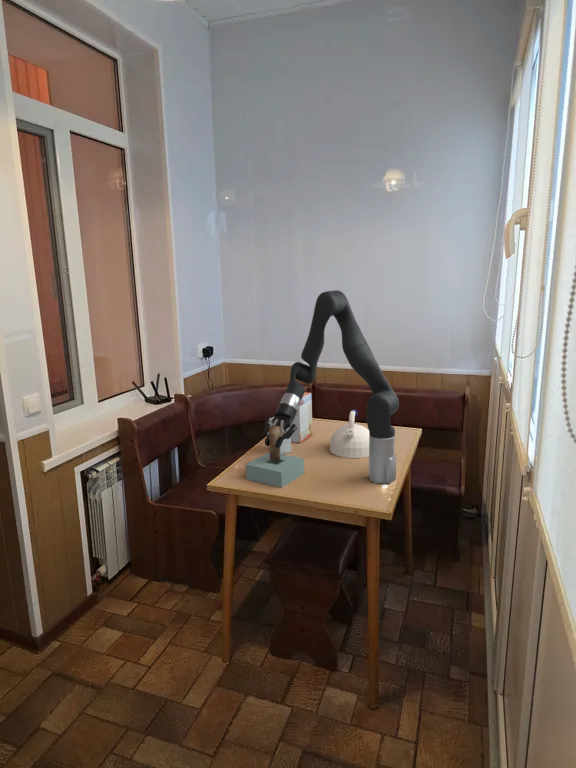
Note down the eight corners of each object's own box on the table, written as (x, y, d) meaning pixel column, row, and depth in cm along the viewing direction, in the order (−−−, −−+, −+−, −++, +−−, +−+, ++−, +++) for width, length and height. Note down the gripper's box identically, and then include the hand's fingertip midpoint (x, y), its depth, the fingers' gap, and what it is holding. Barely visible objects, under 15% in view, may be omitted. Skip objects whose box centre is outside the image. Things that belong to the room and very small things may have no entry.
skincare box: (291, 452, 223) (291, 419, 220) (279, 455, 220) (279, 421, 217) (281, 446, 230) (280, 414, 227) (269, 449, 227) (268, 417, 224)
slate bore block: (304, 473, 199) (304, 458, 198) (281, 487, 186) (281, 472, 185) (270, 465, 208) (269, 451, 207) (246, 479, 195) (245, 464, 193)
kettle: (325, 457, 217) (325, 415, 213) (333, 441, 236) (333, 403, 232) (374, 460, 212) (375, 418, 208) (378, 444, 231) (378, 405, 228)
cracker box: (301, 433, 249) (300, 391, 244) (312, 435, 246) (312, 392, 242) (288, 442, 236) (287, 397, 232) (300, 443, 234) (299, 399, 229)
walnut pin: (282, 458, 196) (281, 426, 194) (276, 462, 193) (275, 429, 190) (273, 457, 198) (272, 424, 196) (267, 460, 195) (266, 427, 192)
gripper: (269, 400, 201) (251, 438, 194) (300, 404, 194) (283, 444, 186) (277, 410, 207) (260, 447, 199) (307, 414, 199) (291, 454, 192)
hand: (271, 446), depth 193 cm, fingers closed on walnut pin, 4 cm apart
